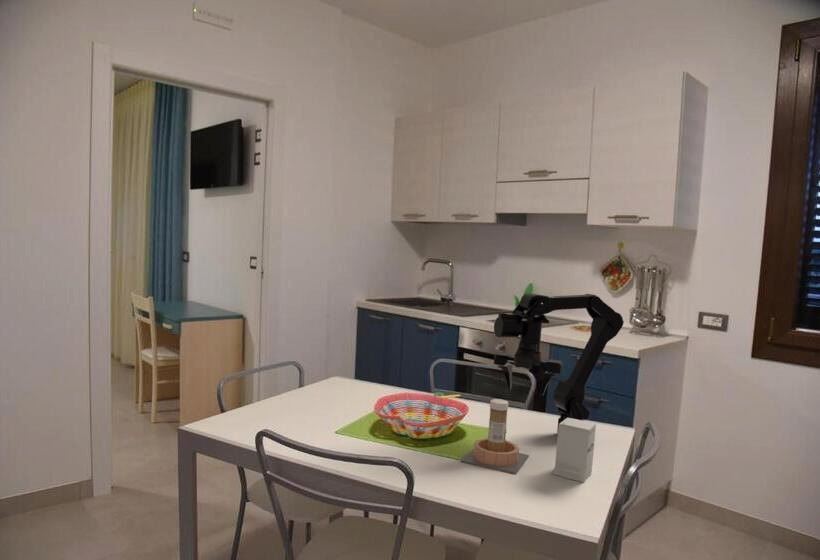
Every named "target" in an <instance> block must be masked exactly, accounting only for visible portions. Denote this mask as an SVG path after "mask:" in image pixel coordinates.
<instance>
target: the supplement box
mask: <svg viewBox="0 0 820 560" xmlns="http://www.w3.org/2000/svg"><path fill="white" fill-rule="evenodd" d="M596 427H597V423H595V422H592V421H586V420H584V421H582V420H577V419H572V418H566V419H565V420H564V421H562V422H561V423H560V424H559V427H558V426H557V428H558V432H557V440H556V451H555V462H554V473H553V474H554V475H556V476H559V477H562V478H566V479H568V480H569V479H570V480H573V481H577V482H581V483H585V481H586V479H587V478H589V476H590V475H591V474H592V473H593V464H594V463H593V461H594V451H595V441H596V440H595V439H596V431H597V429H596Z"/></svg>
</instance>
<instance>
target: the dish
mask: <svg viewBox="0 0 820 560" xmlns="http://www.w3.org/2000/svg"><path fill="white" fill-rule="evenodd" d="M487 448H488V437H486V438H481V439H477V440H476V441H475V442H474V443H473V448H471V450H469V452H468V453H466V454H465V456H463V458H461V459H460V463H464V464H468V465H473V466H477V467H483V468H486V469H492V470H495V471H499V472H503V473H508V474H514V475H518V473H519V472H520V471H521V468H522V467H523V466H524V464H525V462H526V461H527V460H528V458H529V457H530V454H527V453H523V452H520V448H519V446H518V445H517V444H516V443H513V442H511V441H508V440H506V439H505V448H504V451H505V452H493V451H488V450H487Z"/></svg>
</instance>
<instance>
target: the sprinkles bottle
mask: <svg viewBox="0 0 820 560" xmlns="http://www.w3.org/2000/svg"><path fill="white" fill-rule="evenodd" d="M508 410H509V402H508V401H507V400H505V399H502V398H501V399H500V398H493V399H490V402H489V419H488V434H487V438H488V448H487V450H488V451H493V452H505V451H504V448H505V440H506V437H507V417H508Z"/></svg>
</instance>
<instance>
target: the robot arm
mask: <svg viewBox="0 0 820 560" xmlns="http://www.w3.org/2000/svg"><path fill="white" fill-rule="evenodd" d="M577 309H580V310H582V309H583V310H584V309H585V310H586V312H587V314H588V315H589V316H590V318H591V319H592V321H591V325H590V337H589V339H588V341H587V343H586V344H585V346H584V349H582V350H583V351H582V353H580V354H581V355H580V356H579V358H578V360H577V362H576V364H575V366H574V368H573V370H572V372H571V374H570V376H569V378H567V379H566V380H565V381H562V380H558V383H557V385H556V387H555V389H554V390H553V392H552V393H554V394H553V397H552V400H553V404H554V405H555V406H556V408H557V412H560V413H561V414H560V416H559V417H558V420H557V428H556V429H557V430H556V432H557V433H558V427H559V424H560V423H561V422H562V421H564V420H565V419H566V418H572V419H577V420H582V421H586V420H588V419H589V416H590V413H591V412H590V411H589V410H588V409H587V407H586V406H585V404H584V401H585V398H586V385H587V383H588V381H589V379H590V377H591V375H592V373H593V372H594V369H595V368H596V365H597V363H598V361H599V359H600V357H601V355H602V353H603V351H604V349H605V348H606V345H607V344H608V342H609V341H611V340H613V339H614V338H616V336H617V335H618V334H619V332H620V331H621V329H622V328H623V326H624V323H625V322H624V320H623V316H622V315H621V314H620V313H619V312H617V311H616V310H614V309H613V308H612V307H611V306H610V305H608V304H607V303H605V302H604V301H603V300H602V298H600V296H598V295H597V294H590V293H585V294H574V295H573V294H572V295H571V294H570V295H544V294H538V293H537V294H536V293H530V292H527V293H524V294H523V295H522V297H521V298H520V301H519V302H518V304H517V306H516V307H515V308H514V309H513V310H512V312H511V313H505V312H499V313H498V317H496V319H495V321H494V323H493V333H494V334H495V336H496V337H497V338H504V339H505V338H509V339H510V338H512V339H513V338H514V339H515V338H516V339H518V338H519V343H518V348H517V350H516V352H515V353H514V356H513V353H508V352H501V351H500V352H498V353H496V354H495V355H494V357H493V365H496V366H497V368H498V369H500V370H502V372H503V374H504V377H505V381H506V384H507V388H508V391H511V390H512V386H513V385H512V384H513V365H514V367H515V368H525V369H526V370H530V369H532V368H533V367H534V368H539V369H545V370H546V371H544V373H543V381H542V385H541V389H540V391H541V392H540V395H541V396H544V395H545V391H546V390H547V387H548V385H549V383H550V381H551V379H552V377H556V376H557V375H560V374H561V373H562V372H563V371H564V362H563V360H558V359H551V358H550V359H548V360H547V361H542V352H541V342H542V341H541V339H542V328H543V327H542V325H543V324H550V320H549V319H547V317H546V316H545V315H547V314H549V313H552V312H554V311H560V310H561V311H563V310H577Z"/></svg>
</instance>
